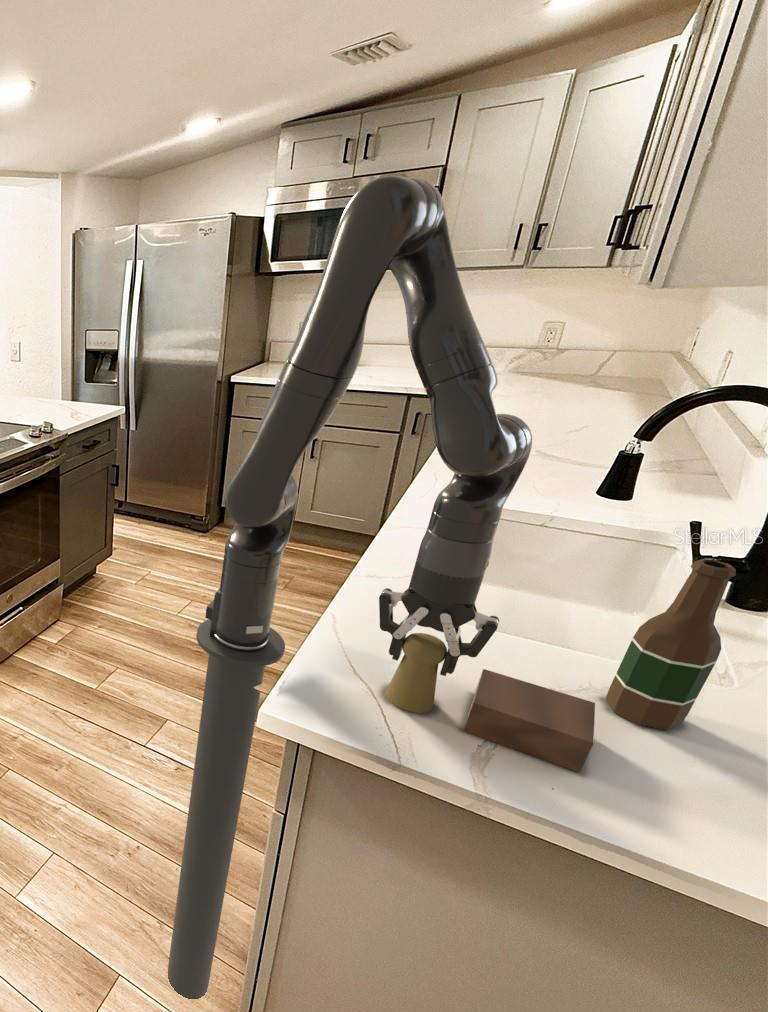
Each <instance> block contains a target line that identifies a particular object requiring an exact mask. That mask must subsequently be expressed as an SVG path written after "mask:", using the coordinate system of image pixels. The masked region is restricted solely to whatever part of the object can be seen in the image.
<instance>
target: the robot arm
mask: <svg viewBox="0 0 768 1012" xmlns="http://www.w3.org/2000/svg"><path fill="white" fill-rule="evenodd" d="M449 231H450V230H449V226H448V220H447V216H446V210H445V205H444V200H443V198H442V195H441V193H440V191H439V189H437V188H436V187H435V186H434V185H433V184H432V183H430V182H428V181H426V180H424V179H420V178H414V177H408V176H401V175H385V176H380V177H378V178H375V179H373V180H371V181H369V182H367V183H366V184H365V185H363V186H362V187H361V188H360V189H359V190H358V191H357V192H356V193H355V194H354V195H353V196H352V198H351V199H350V200H349V202H348V204H347V205H346V207H345V209H344V210H343V213H342V215H341V217H340V220H339V223H338V225H337V227H336V231H335V234H334V238H333V241H332V244H331V246H330V250H329V253H328V256H327V259H326V262H325V265H324V268H323V272H322V275H321V277H320V280H319V284H318V286H317V289H316V291H315V294H314V296H313V298H312V300H311V303H310V305H309V307H308V310H307V312H306V314H305V316H304V319H303V321H302V324H301V326H300V329H299V331H298V333H297V335H296V338H295V340H294V342H293V344H292V346H291V349H290V351H289V352H288V355H287V357H286V359H285V361H284V364H283V366H282V368H281V371H280V373H279V375H278V378H277V380H276V383H275V386H274V389H273V391H272V393H271V396H270V398H269V401H268V403H267V405H266V407H265V411H264V413H263V415H262V418H261V420H260V423H259V426H258V428H257V432H256V434H255V436H254V439H253V441H252V443H251V445H250V447H249V449H248V452H247V453H246V455H245V457H244V458H243V460H242V462H241V463H240V466H239V467H238V469H237V471H236V472H235V474H234V476H233V478H232V479H231V481H230V483H229V484H228V487H227V489H226V491H225V496H224V508H225V511H226V514H227V516H228V517H229V519H230V520H231V521H232V522H233V524H234V526H233V528H232V530H231V531H230V533H229V535H228V536H227V538H226V541H225V545H224V546H225V547H224V553H223V560H222V569H221V576H220V584H219V589H217V590H216V591H215V592H214V598H213V599H212V601H211V602H210V603H208V604H207V605H206V609H205V617H204V618H205V619H206V620H208V619H210V620H211V628H210V635H209V636H210V637H212V638H215V640H216V641H217V642H218V643H220V644H221V645H223V646H225V647H227V648H229V649H232V650H236V651H241V652H256V651H260V650H262V649H264V648H265V647H266V646H267V643H268V636H269V629H270V628H271V622H272V616H273V611H274V606H275V600H276V595H277V588H278V582H279V576H280V570H281V565H282V560H283V555H284V551H285V550H286V547H287V545H288V543H289V540H290V537H291V534H292V533H291V532H292V530H293V529H292V528H293V524H294V520H295V515H296V510H297V505H298V498H299V497H298V496H299V490H298V489H299V488H298V484H297V481H296V479H295V477H294V475H293V473H294V470H295V469H296V466H297V464H298V463H299V461H300V459H301V457H303V455H304V453H305V451H306V450H307V449H308V448H309V446H310V445H311V444H312V442H313V441H314V440H315V439H316V437H317V436H318V434H320V432H321V431H322V429H323V428H324V426H325V425H326V424H327V423H328V421H329V420H330V418H331V417H332V415H333V414H334V413H335V411H336V410H337V408H338V406H339V405H340V403H341V401H342V399H344V395H345V394H346V392H347V389H348V388H349V386H350V384H351V382H352V379H353V378H354V375H355V374H356V372H357V369H358V366H359V364H360V361H361V357H362V354H363V348H364V342H365V332H366V326H367V320H368V314H369V310H370V306H371V304H372V301H373V299H374V296H375V294H376V291H377V289H378V288H379V286H380V284H381V282H382V280H383V278H384V276H385V274H386V272H387V271H388V269H389V270H390V271H391V273H392V275H393V277H394V278H395V280H396V282H397V284H398V286H399V290H400V292H401V295H402V298H403V302H404V307H405V316H406V325H407V337H408V345H409V349H410V353H411V356H412V361H413V364H414V366H415V368H416V371H417V373H418V376H419V378H420V381H421V383H422V386H423V389H424V391H425V393H426V396H427V397H428V399H429V404H430V414H431V415H430V417H431V424H432V429H433V437H434V441H435V446H436V449H437V453H438V455H439V457H440V459H441V460H442V462H443V463H444V465H445V466H446V467H447V468H448V470H450V471H451V472H452V473H454V474H453V476H452V478H451V480H450V482H449V483H448V484H447V485H446V486H445V487H444V488H443V489H442V490H441V491H440V492H439V493H438V495H437V496H436V498H435V501H434V504H433V508H432V511H431V514H430V517H429V522H428V525H427V527H426V530H425V533H424V535H423V537H422V540H421V542H420V546H419V548H418V552H417V557H416V561H415V563H414V567H413V570H412V574H411V578H410V581H409V585H408V588H407V589H405V590H404V592H399V591H393V590H392V589H391V588H389V587H386V588H384V589H383V590H382V591H381V593H380V594H379V597H378V607H379V608H378V609H379V611H378V612H379V629H380V631H383V632H387V633H389V634H390V635H391V642H390V645H389V650H388V654H389V655H390V656H392V660H394V661H399V660H400V657H401V655H402V651H403V647H402V646H403V642H404V640H405V638H406V637H407V634H408V633H409V632H410V631H412V630H413V629H414V627H416V626H419V627H422V628H423V627H424V628H431V629H432V630H434V631H437V632H441V633H443V634H444V635H443V636H444V638H445V639H444V640H445V642H446V643H447V647H448V648H447V653H446V656H445V659H444V660H443V662H442V666H441V669H440V672H439V675H440V676H444V677H447V675H448V674H450V675H452V674H453V673H454V672H455V669H456V666H457V663H458V661H459V658H460V657H461V656H468V657H469V658H477V657H478V656H479V654H481V651H482V650H483V648H484V647H485V646H486V645H487V644H488V642H489V641H490V640H491V638H492V637H493V635H495V633H496V631H497V630H498V627H499V623H500V618H499V617H498V616H496V615H490V616H489V615H485V614H483V613H482V612H479V611H478V610H477V606H476V602H477V598H478V594H479V592H480V588H481V585H482V582H483V579H484V577H485V574H486V571H487V568H488V567H489V564H490V559H491V555H492V551H493V550H492V547H493V542H494V538H495V535H496V532H497V529H498V526H499V523H500V520H501V517H502V513H503V508H504V505H506V502H507V500H508V498H509V496H510V495H511V494H512V492H513V490H514V488H515V486H516V484H517V482H518V480H519V479H520V476H521V474H522V473H523V471H524V469H525V467H526V465H527V463H528V460H529V457H530V456H531V455H530V454H531V451H532V446H533V434H532V430H531V428H530V426H529V425H528V424H527V423H526V422H525V421H524V420H523V419H522V418H520V417H518V416H516V415H512V414H509V413H497V412H496V408H495V404H494V400H493V396H492V394H493V392H494V391H495V389H496V388H497V386H498V375H497V372H496V371H497V370H496V368H495V365H494V364H493V362H492V358H491V356H490V354H489V352H488V349H487V346H486V345H485V341H484V339H483V337H482V335H481V333H480V330H479V328H478V327H477V324H476V321H475V318H474V316H473V313H472V311H471V308H470V306H469V303H468V300H467V298H466V295H465V292H464V289H463V286H462V282H461V280H460V276H459V273H458V269H457V265H456V261H455V257H454V253H453V249H452V243H451V237H450V232H449ZM399 602H402V604H403V606H404V608H405V610H406V611H407V613H408V614H407V615H406V616H405V617H404V618H403V620H402V621H400V623H397V622H395V621H394V608H395V607H396V606H397V605H398V603H399ZM471 621H474V622H475V630H477V632H476V633H475V635H474V636H473V638H472V639H471V641H470V642H463V639H462V634H461V633H462V632H461V631H462V630H461V626H463V625H465V624H467V623H469V622H471Z"/></svg>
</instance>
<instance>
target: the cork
mask: <svg viewBox="0 0 768 1012" xmlns="http://www.w3.org/2000/svg"><path fill="white" fill-rule="evenodd" d="M402 647H403V648H402V651H403V653H404V655H403V656H402V658H401V660H400V663H399V665H398V666H397V668H396V670H395V672H394V674H393V676H392V678H391V681H390V682H389V684H388V686H387V689H386V690H385V693H384V694H385V697H386V699H387V700H388V701H389V702H390V703H391V704H393V705H394V706H395V707H398V708H399V709H401V710H405V711H407V712H409V713H410V712H411V713H416V714H426V713H429V712H431V711H432V710H433V709H434V706H435V705H434V704H435V697H436V687H437V679H438V670H439V664H441V663H443V662H444V659H445V656H446V653H447V651H448V648H447V646H446V643H445V642H444V641H443V640H442V639H440V638H438V637H437V636H435V635H432V634H428V633H423V632H414V633H410V634H409V635H406V638H405V640H404V642H403V646H402Z"/></svg>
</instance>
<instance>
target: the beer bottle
mask: <svg viewBox="0 0 768 1012" xmlns="http://www.w3.org/2000/svg"><path fill="white" fill-rule="evenodd" d="M690 568H691V569H692V570H691V572H690V574H689V575H688V576H687V578H686V580H685V582H684V584H683V585H682V587H681V589H680V590H679V592H678V593H677V595H676V597H675V598H674V600H673V601H672V603H671V604H670V605H669V607H668V608H667V609H666V610H665V611H664V612H662V613H660V614H657V615H655V616H653V617H651V618H649V619H648V620H646V621H645V622H644V623H643V624H642V625H640V626H639V627H638V629H637V630H636V631H635V633H634V635H633V637H632V638H631V640H630V643H629V645H628V647H627V649H626V652H625V653H624V655H623V658H622V660H621V662H620V665H619V667H618V669H617V671H616V673H615V675H614V677H613V679H612V681H611V684H610V686H609V688H608V691H607V694H606V697H605V700H606V702H607V704H608V706H609V707H610V708H611V710H612V711H613V713H614V714H616V715H618V716H621V717H622V718H624V719H627V720H628V721H631V722H632V723H635V724H636V725H639V726H643V727H649V728H652V729H653V728H654V729H658V730H663V731H667V730H670V729H672V728H674V727H677V726H679V725H681V724H683V722H684V721H685V720H686V718H687V716H688V714H689V713H690V711H691V709H692V707H693V706H694V704H695V702H696V700H697V698H698V696H699V695H700V694H701V690H702V689H703V687H704V686H705V683H706V682H707V680H708V678H709V677H710V674H711V672H712V670H713V669H714V667H715V666H716V663H717V661H718V659H719V657H720V653H721V651H722V640H721V635H720V634H719V632H718V629H717V627H716V625H715V619H716V615H717V612H718V609H719V606H720V604H721V602H722V598H723V596H724V594H725V591H726V589H727V586H728V584H729V581H730V579H731V578H732V577H735V576H736V574H737V573H736V572H737V570H736V567H734V566H732V565H731V564H729V563H727V562H723V561H720V560H717V559H708V558H702V559H698V560H696V561H694V562H693V563H692V564H691V565H690Z"/></svg>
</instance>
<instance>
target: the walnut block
mask: <svg viewBox="0 0 768 1012" xmlns="http://www.w3.org/2000/svg"><path fill="white" fill-rule="evenodd" d="M595 713H596V703H595V702H594V701H590V700H587V699H583V698H580V697H577V696H574V695H572V694H571V695H570V694H568V693H565V692H561V691H557V690H554V689H551V688H548V687H544V686H541V685H538V684H535V683H531V682H527V681H525V680H521V679H518V678H516V677H515V678H514V677H512V676H508V675H505V674H502V673H498V672H495V671H493V670H489V669H485V668H483V669H482V671H481V674H480V676H479V680H478V683H477V685H476V688H475V691H474V693H473V697H472V700H471V704H470V708H469V711H468V714H467V716H466V721H465V723H464V728H463V732H465V733H468V734H471V735H473V736H476V737H479V738H481V739H485V740H487V741H489V742H492V743H496V744H498V745H501V746H504V747H507V748H510V749H512V750H515V751H518V752H521V753H523V754H525V755H529V756H532V757H535V758H537V759H540V760H543V761H546V762H548V763H551V764H554V765H556V766H559V767H563V768H564V769H567V770H570V771H573V772H576V773H578V774H580V773H581V771H582V769H583V767H584V764H585V762H586V760H587V758H588V756H589V754H590V753H591V749H592V747H593V745H594V741H595V716H596V714H595Z"/></svg>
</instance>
